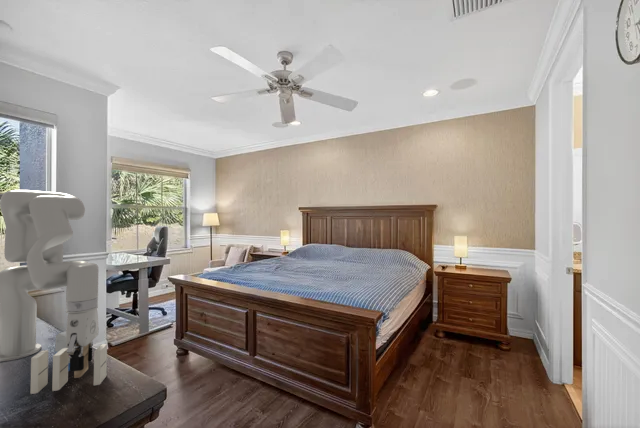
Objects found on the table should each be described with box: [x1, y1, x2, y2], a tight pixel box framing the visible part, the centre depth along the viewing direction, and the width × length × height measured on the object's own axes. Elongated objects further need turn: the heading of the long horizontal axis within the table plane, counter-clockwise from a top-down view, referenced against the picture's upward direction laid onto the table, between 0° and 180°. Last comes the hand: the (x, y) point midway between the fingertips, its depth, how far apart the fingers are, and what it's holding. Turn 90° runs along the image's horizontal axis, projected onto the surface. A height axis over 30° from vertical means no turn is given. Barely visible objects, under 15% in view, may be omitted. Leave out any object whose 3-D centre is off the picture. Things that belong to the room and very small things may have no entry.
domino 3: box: [73, 344, 89, 379], centre depth 89 cm, size 2×5×10 cm, turn 18°
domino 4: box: [93, 343, 108, 386], centre depth 90 cm, size 2×5×10 cm, turn 18°
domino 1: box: [29, 349, 49, 395], centre depth 86 cm, size 2×5×10 cm, turn 18°
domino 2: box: [51, 348, 69, 392], centre depth 87 cm, size 2×5×10 cm, turn 18°
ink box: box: [54, 330, 92, 372], centre depth 99 cm, size 9×5×12 cm, turn 168°
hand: (81, 365), depth 89 cm, fingers closed on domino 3, 4 cm apart
